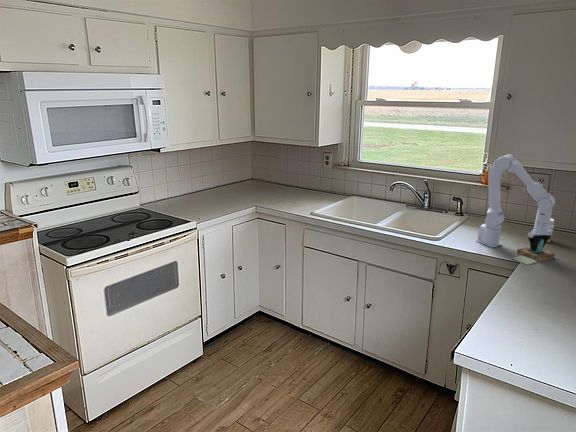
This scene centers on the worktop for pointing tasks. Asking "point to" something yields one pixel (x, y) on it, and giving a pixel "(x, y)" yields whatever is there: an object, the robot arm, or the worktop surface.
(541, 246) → the teal cylinder
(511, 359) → the worktop surface
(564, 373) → the worktop surface
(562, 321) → the worktop surface
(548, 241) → the pill bottle
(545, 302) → the worktop surface
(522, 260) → the rubber mat
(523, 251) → the header block
